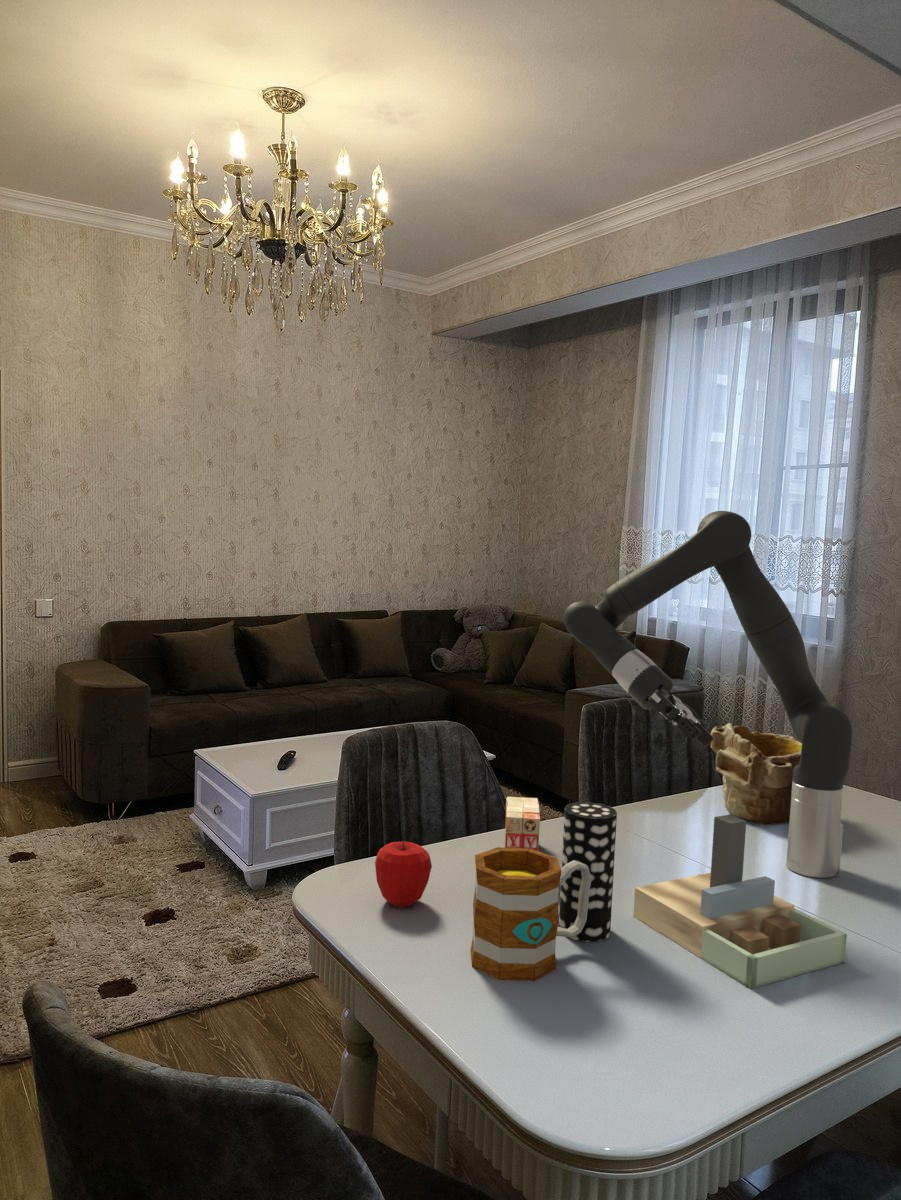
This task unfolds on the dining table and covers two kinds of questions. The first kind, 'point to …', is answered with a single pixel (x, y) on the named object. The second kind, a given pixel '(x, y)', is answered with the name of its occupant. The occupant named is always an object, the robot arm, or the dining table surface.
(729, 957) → the tray
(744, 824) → the scraper
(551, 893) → the mug
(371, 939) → the dining table surface
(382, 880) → the apple
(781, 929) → the brown wood cube
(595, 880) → the spotted tube
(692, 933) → the board
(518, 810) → the stack of blocks
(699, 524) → the robot arm
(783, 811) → the ceramic vessel
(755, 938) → the brown wooden cube
